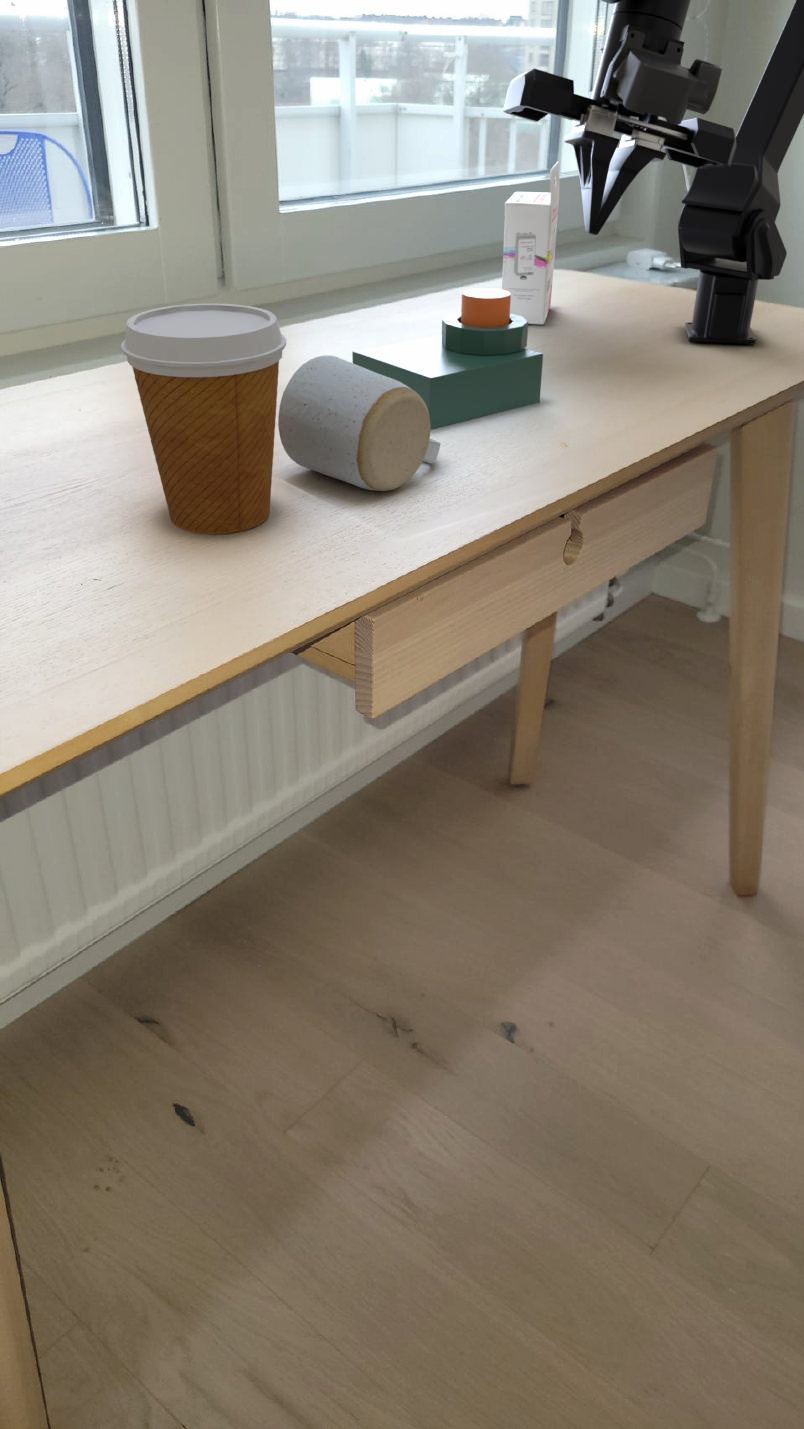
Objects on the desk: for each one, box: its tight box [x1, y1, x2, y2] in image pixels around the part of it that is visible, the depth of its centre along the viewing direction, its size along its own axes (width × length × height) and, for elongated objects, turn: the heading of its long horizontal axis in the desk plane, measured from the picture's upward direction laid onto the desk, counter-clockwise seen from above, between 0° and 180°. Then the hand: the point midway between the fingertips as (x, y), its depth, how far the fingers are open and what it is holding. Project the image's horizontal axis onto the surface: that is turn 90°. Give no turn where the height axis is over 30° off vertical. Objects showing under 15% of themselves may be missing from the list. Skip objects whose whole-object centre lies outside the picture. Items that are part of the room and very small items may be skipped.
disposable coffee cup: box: [120, 303, 287, 535], centre depth 65 cm, size 10×10×12 cm
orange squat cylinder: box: [460, 287, 511, 327], centre depth 88 cm, size 4×4×3 cm
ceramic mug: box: [277, 355, 441, 492], centre depth 72 cm, size 11×8×8 cm
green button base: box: [351, 311, 544, 430], centre depth 88 cm, size 14×10×6 cm
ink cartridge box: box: [501, 160, 560, 325], centre depth 112 cm, size 9×5×15 cm, turn 168°
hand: (591, 234), depth 91 cm, fingers closed
